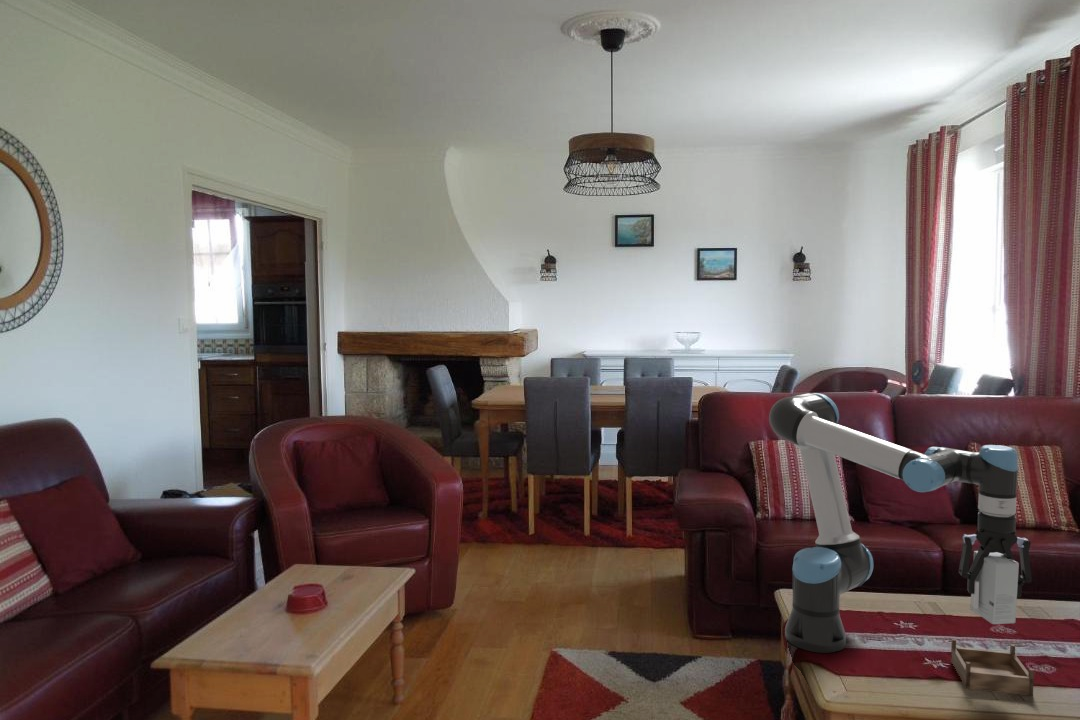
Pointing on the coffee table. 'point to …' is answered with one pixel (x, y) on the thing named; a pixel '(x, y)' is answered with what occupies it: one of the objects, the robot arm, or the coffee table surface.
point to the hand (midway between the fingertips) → (993, 608)
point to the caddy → (992, 670)
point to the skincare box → (997, 589)
